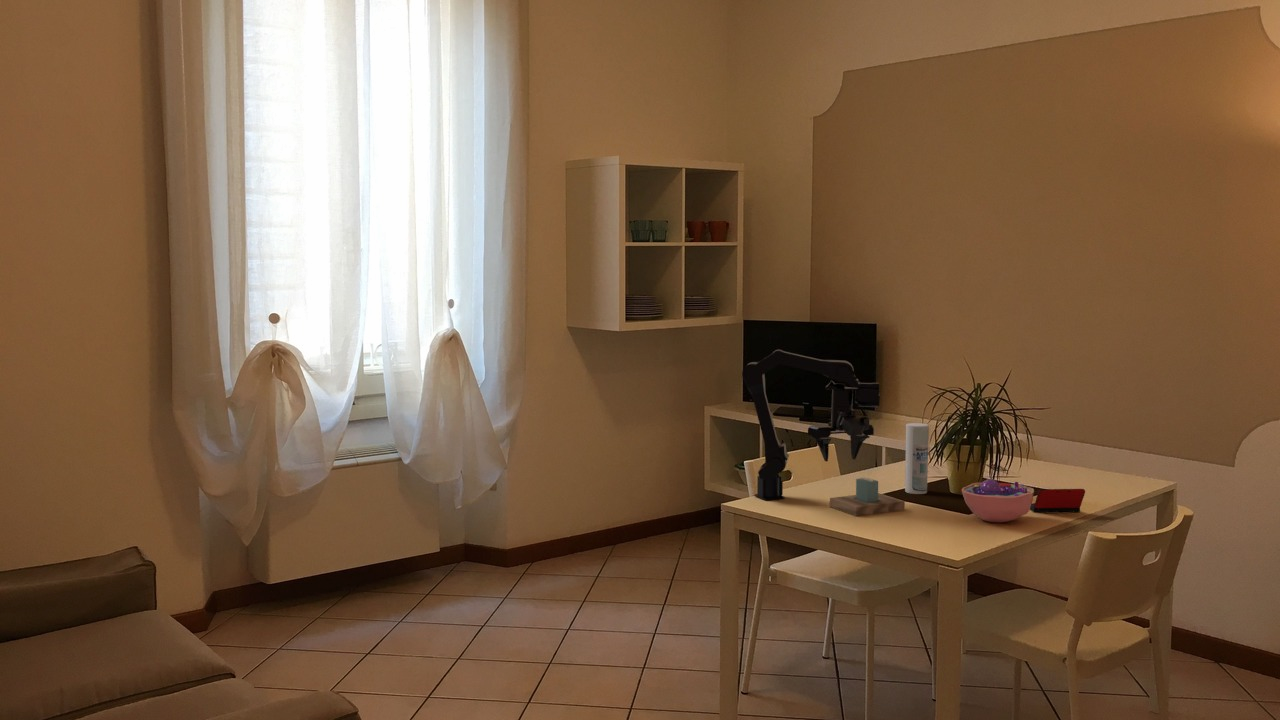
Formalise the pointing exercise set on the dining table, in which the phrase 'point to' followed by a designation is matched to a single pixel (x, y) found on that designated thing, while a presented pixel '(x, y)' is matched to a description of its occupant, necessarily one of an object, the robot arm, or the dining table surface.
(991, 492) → the cell model
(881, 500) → the socket block
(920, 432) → the spray can
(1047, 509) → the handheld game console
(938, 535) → the dining table surface
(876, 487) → the keyed peg
